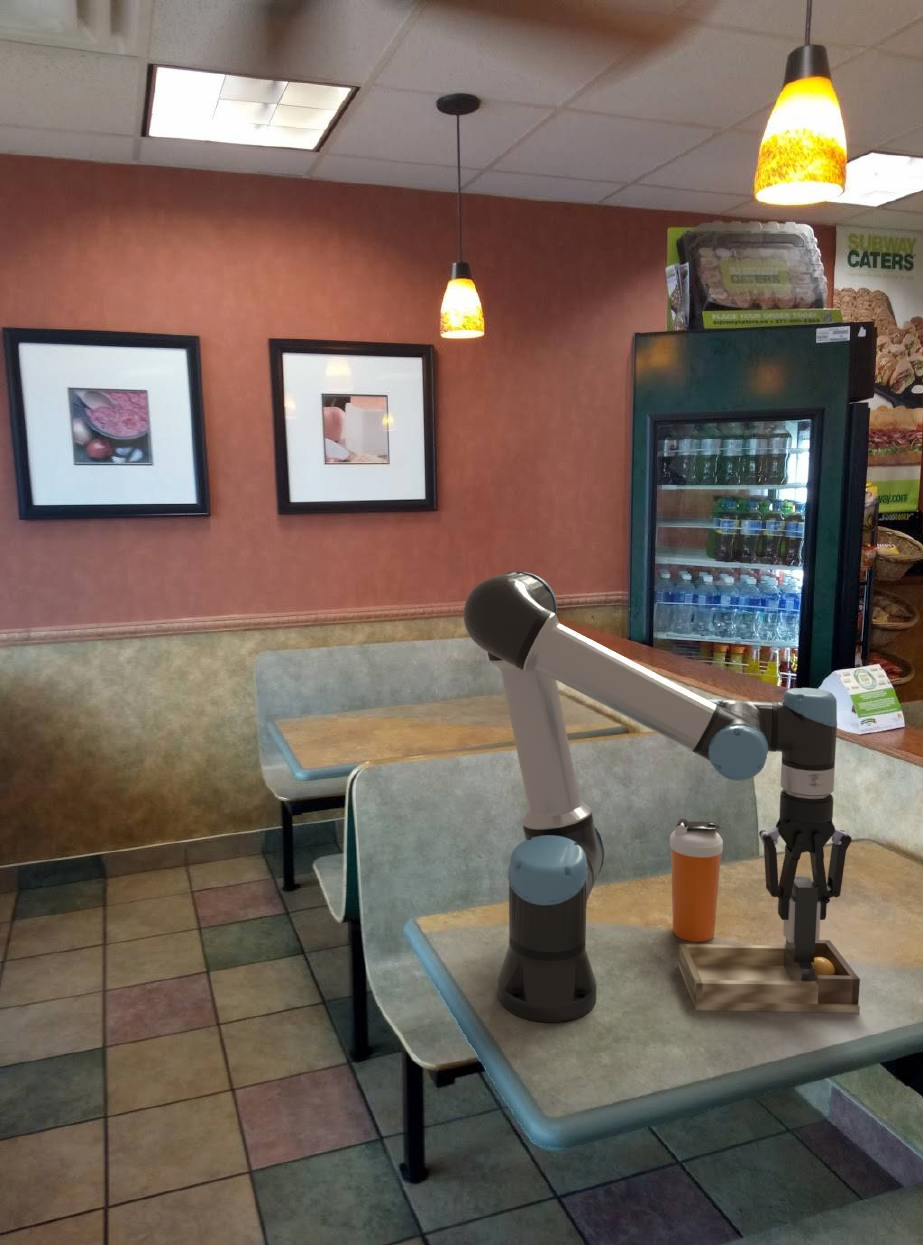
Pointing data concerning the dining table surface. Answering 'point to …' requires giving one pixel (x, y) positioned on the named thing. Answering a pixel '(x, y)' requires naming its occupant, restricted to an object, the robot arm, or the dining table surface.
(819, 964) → the ball
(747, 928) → the dining table surface
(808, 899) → the block
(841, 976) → the tray
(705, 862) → the shaker bottle
